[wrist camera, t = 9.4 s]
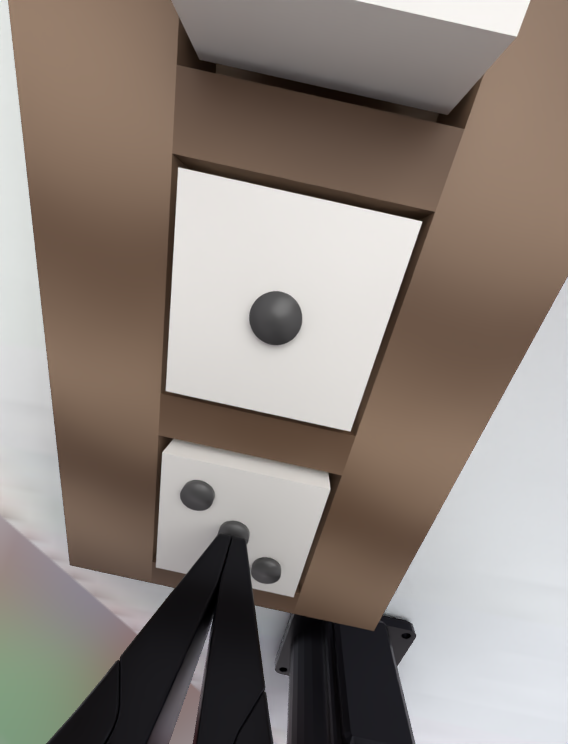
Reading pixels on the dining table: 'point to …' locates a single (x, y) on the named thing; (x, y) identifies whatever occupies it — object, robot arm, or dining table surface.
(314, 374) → the one dot key
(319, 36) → the two dot key
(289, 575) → the three dot key
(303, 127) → the key panel
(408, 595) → the dining table surface
